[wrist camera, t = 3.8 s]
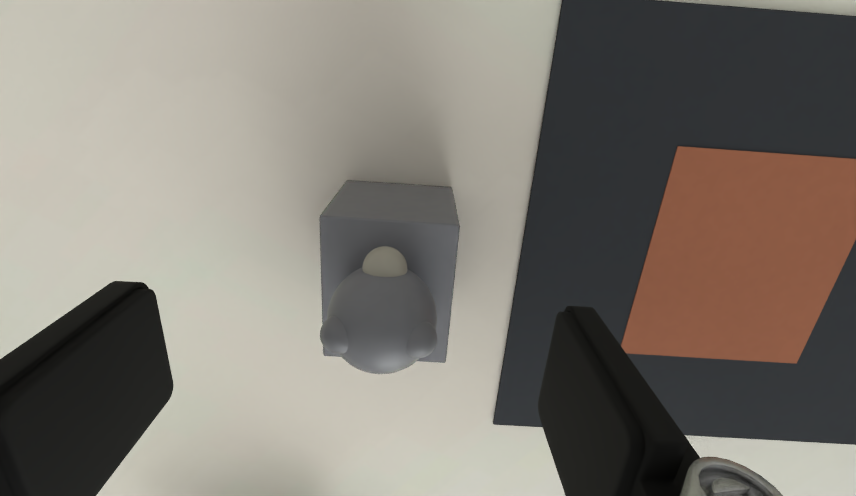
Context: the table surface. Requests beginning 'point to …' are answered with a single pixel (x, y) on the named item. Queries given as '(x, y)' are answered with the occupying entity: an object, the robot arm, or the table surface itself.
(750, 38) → the mat
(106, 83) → the table surface
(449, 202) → the grey bear
